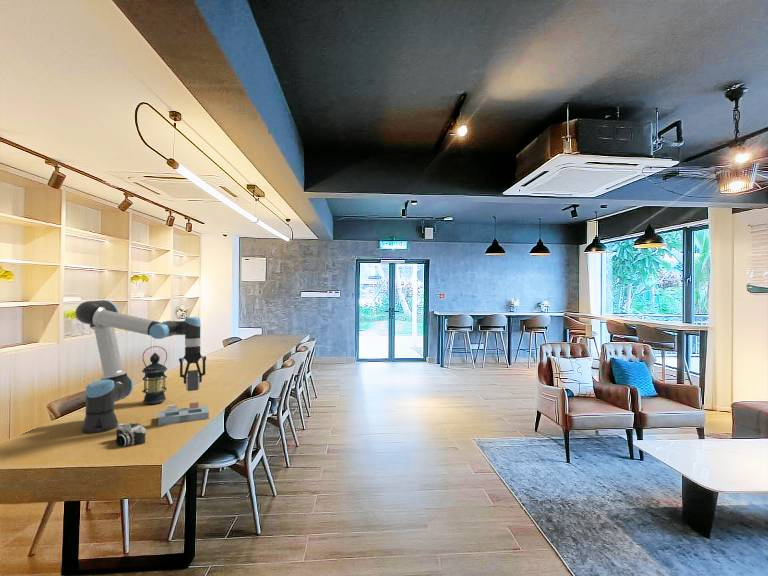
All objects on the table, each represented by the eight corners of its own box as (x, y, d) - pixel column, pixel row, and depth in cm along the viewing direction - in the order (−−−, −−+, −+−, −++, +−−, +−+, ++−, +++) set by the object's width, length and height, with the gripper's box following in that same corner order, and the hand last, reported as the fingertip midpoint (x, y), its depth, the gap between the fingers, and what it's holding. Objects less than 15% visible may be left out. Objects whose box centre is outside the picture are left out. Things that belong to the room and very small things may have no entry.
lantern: (137, 406, 243) (137, 348, 243) (147, 400, 256) (147, 345, 256) (162, 405, 244) (162, 347, 244) (171, 399, 258) (171, 344, 258)
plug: (187, 391, 214) (187, 372, 214) (187, 389, 219) (187, 370, 219) (198, 390, 217) (198, 371, 217) (197, 388, 221) (197, 369, 221)
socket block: (158, 426, 208) (158, 413, 208) (158, 418, 220) (158, 405, 220) (208, 419, 219) (208, 406, 219) (206, 412, 232) (206, 400, 232)
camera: (104, 446, 182) (105, 424, 182) (122, 439, 191) (122, 418, 191) (131, 450, 177) (131, 428, 177) (148, 443, 186) (148, 421, 186)
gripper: (173, 347, 210) (173, 392, 210) (211, 345, 219) (211, 388, 219) (174, 346, 217) (173, 389, 217) (210, 344, 225) (210, 385, 225)
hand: (192, 388), depth 218 cm, fingers closed on plug, 5 cm apart
